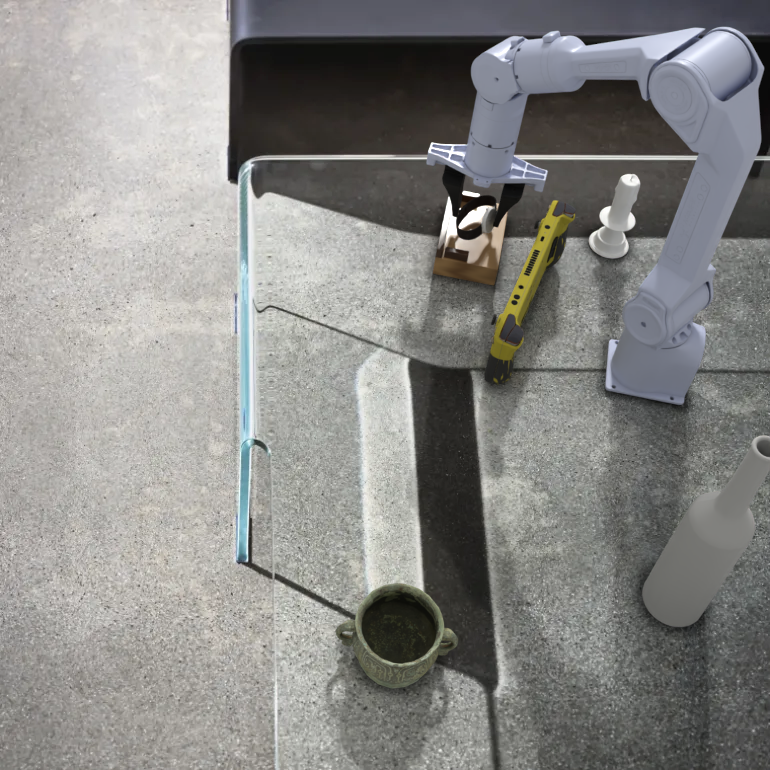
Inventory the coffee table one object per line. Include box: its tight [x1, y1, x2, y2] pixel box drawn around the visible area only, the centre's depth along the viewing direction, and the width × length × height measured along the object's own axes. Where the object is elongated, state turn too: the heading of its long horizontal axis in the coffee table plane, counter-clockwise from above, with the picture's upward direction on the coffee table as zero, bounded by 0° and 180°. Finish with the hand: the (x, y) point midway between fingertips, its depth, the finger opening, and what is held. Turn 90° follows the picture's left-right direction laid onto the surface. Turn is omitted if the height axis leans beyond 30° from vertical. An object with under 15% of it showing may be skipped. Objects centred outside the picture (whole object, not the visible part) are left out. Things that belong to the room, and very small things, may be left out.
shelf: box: [432, 190, 509, 286], centre depth 149 cm, size 8×12×4 cm, turn 170°
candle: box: [588, 173, 641, 259], centre depth 149 cm, size 5×5×12 cm
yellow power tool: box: [483, 199, 577, 386], centre depth 140 cm, size 26×4×10 cm, turn 159°
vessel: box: [334, 582, 459, 689], centre depth 113 cm, size 12×9×6 cm
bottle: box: [641, 434, 770, 628], centre depth 111 cm, size 7×7×28 cm
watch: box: [456, 194, 498, 240], centre depth 146 cm, size 8×5×4 cm, turn 151°
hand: (476, 216), depth 147 cm, fingers closed on watch, 5 cm apart
